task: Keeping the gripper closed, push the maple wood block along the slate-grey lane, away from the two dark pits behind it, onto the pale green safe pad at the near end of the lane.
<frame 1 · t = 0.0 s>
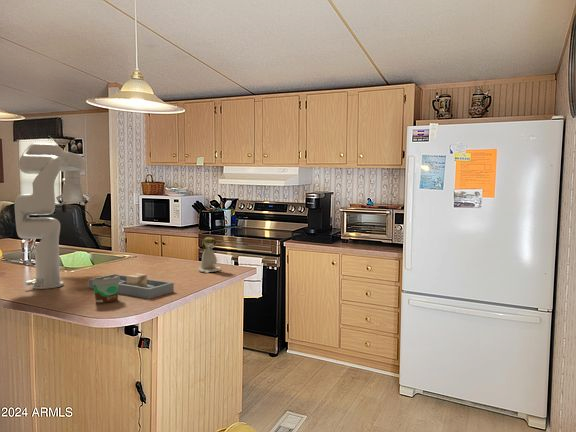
hand: (73, 212, 247), 31 cm above the counter, tool pointing down, fingers open, 9 cm apart
maple block: (136, 286, 197), point 2 cm above the counter, touching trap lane
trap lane: (130, 289, 199), on the counter
food container: (110, 302, 179), on the counter
grey figurine: (210, 271, 243), on the counter
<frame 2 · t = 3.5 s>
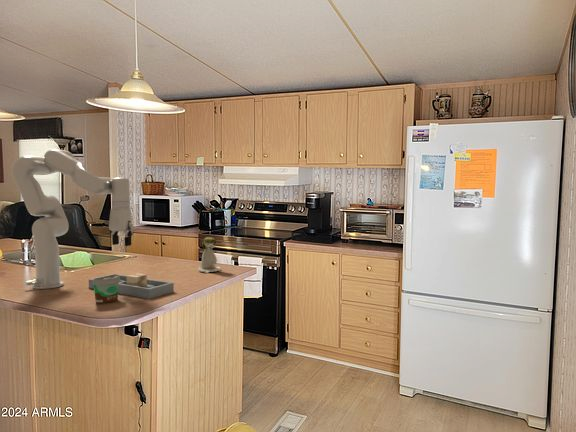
hand: (121, 244, 200), 20 cm above the counter, tool pointing down, fingers open, 7 cm apart
nothing on the counter moved.
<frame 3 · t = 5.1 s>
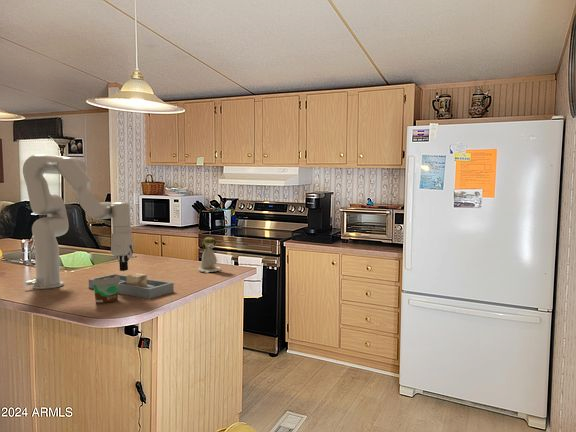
hand: (123, 270, 201), 8 cm above the counter, tool pointing down, fingers closed
nothing on the counter moved.
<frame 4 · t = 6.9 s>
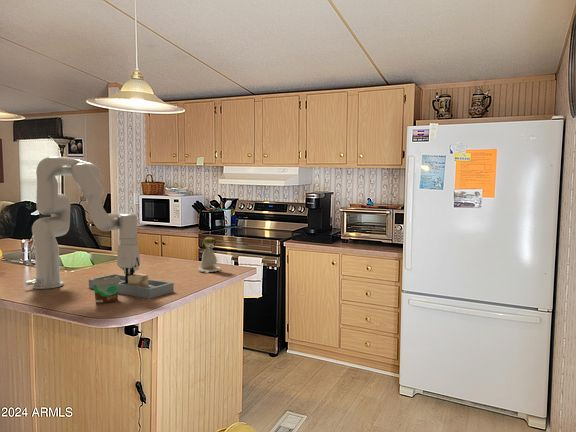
hand: (129, 282, 199), 3 cm above the counter, tool pointing down, fingers closed
maple block: (138, 286, 196), point 2 cm above the counter, touching gripper, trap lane
everything else where it was.
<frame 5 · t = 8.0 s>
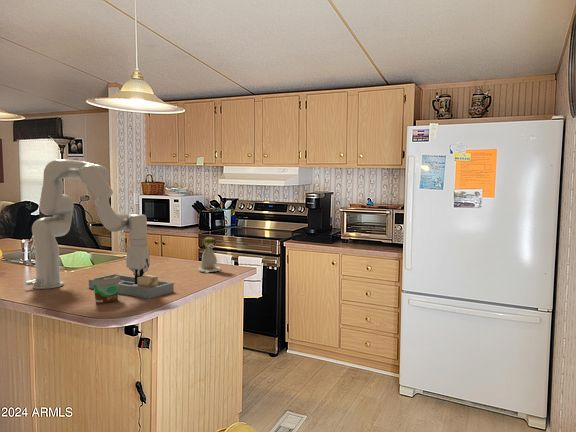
hand: (138, 283, 196), 3 cm above the counter, tool pointing down, fingers closed
maple block: (147, 288, 194), point 2 cm above the counter, touching gripper, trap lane
everything else where it was.
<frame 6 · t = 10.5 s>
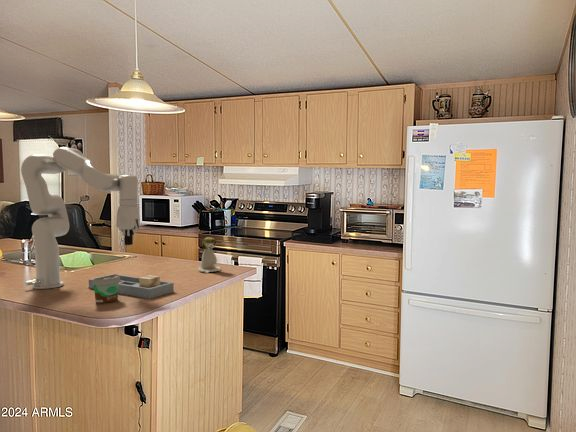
hand: (128, 244, 198), 20 cm above the counter, tool pointing down, fingers closed
maple block: (149, 288, 193), point 2 cm above the counter, touching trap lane
everything else where it was.
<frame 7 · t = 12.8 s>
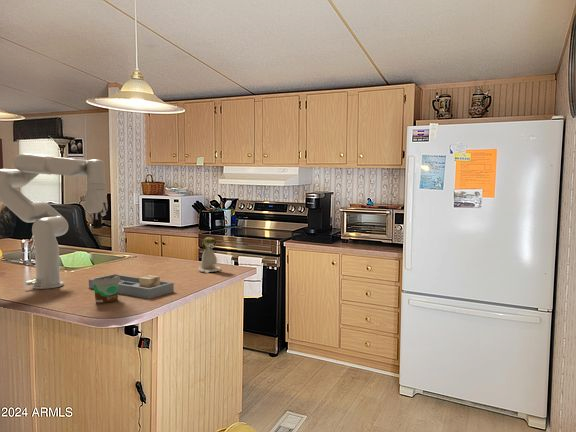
hand: (97, 228, 201), 27 cm above the counter, tool pointing down, fingers closed
nothing on the counter moved.
at the end: maple block inside the target area on the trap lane (1.2 cm from its centre), point 2.0 cm above the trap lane's base; maple block tilted 0°; the gripper is holding nothing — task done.
